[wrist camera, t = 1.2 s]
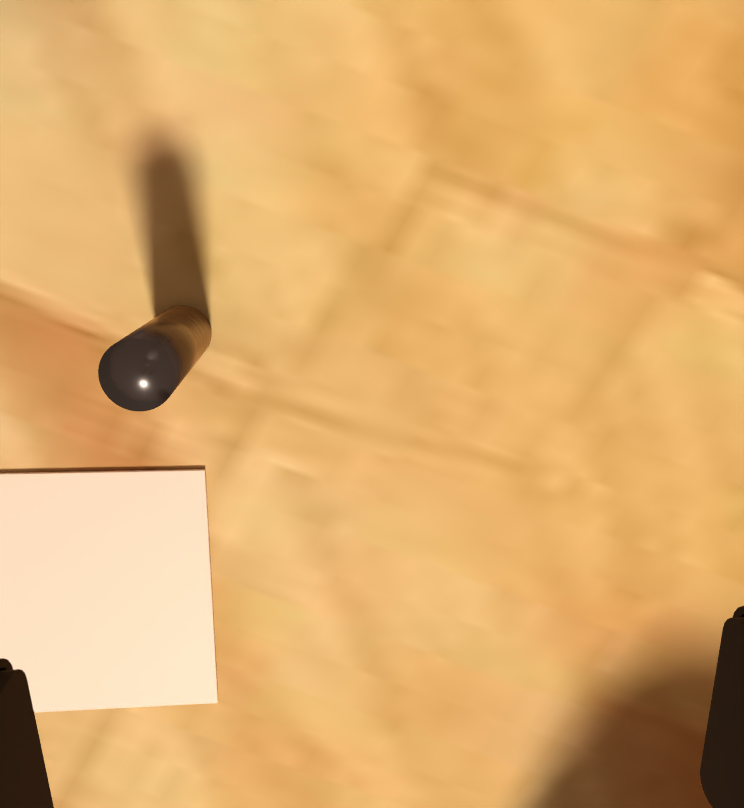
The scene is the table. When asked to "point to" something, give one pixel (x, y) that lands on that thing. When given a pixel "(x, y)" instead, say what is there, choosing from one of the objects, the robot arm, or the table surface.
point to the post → (154, 358)
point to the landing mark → (108, 588)
